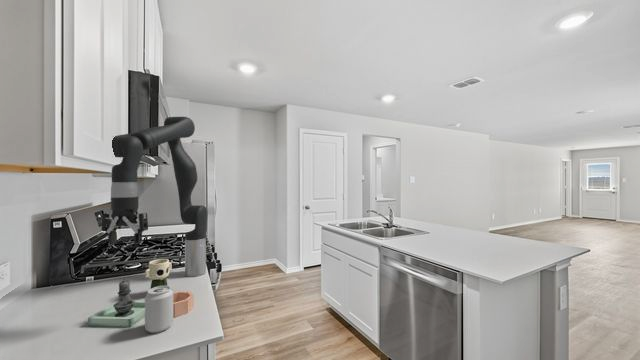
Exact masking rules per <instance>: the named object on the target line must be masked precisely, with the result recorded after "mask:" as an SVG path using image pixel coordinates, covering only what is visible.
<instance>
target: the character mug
mask: <svg viewBox="0 0 640 360" xmlns="http://www.w3.org/2000/svg"><path fill="white" fill-rule="evenodd" d="M172 267H173V266H172V262H170V260H169V259H168V258H159V259H154V260H150V261H149V262H148V268H147V269H145V272H144V274H145V275H144V277H145V278H146V279H149V280H151V283H150V287H149V290H150V289H152V288H154V287H158V286H168V281H167V278H168V276H169V275H170V271H171V270H172V269H173V268H172Z"/></svg>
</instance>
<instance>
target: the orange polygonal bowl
mask: <svg viewBox="0 0 640 360" xmlns="http://www.w3.org/2000/svg"><path fill="white" fill-rule="evenodd" d="M194 296H195V295H194V294H193V293H192V292H191V290H190V291H188V290H187V291H185V290H183V291H182V290H181V291H173V319H174V318H177V317H180V316H183V315H187V314H188V313H189V312H191V311H192V310H194V307H195V306H194Z"/></svg>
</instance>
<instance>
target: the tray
mask: <svg viewBox="0 0 640 360" xmlns="http://www.w3.org/2000/svg"><path fill="white" fill-rule="evenodd" d="M118 301H119V300H117V301H115V302H113V303H112V304H110V305H108V306H107V307H104V308H103V309H101V310H100V311H98V312H96V313H94V314H93V315H90V316H89V317H87V326H89V327H119V326H121V327H122V328H123V327H124V328H125V327H126V328H129V327H130V328H132V327H133V326H134V325H136V324H137V323H138V322H140V321H141V320H143V318H144V319H145V300H144V301H142V300H135V303H134V305H133V307H132V309H131V310H134V313H133V314H131V315H129V316H127V317H115V314H117V313H118V312H117V311H116V310H115V307H113V306H114V304H115V303H117V302H118Z"/></svg>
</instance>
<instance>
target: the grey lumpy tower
mask: <svg viewBox="0 0 640 360" xmlns="http://www.w3.org/2000/svg"><path fill="white" fill-rule="evenodd" d="M130 285H131V282H130V281H129V280H127V279H126V278H125V277H124V278H123V279H122V281H120V282H119V284H118V292H117V294H118V300H117V301H118V302H117V301H116V302H117V303H115V302H114V303H115V304H114V303H113V304H114V306H113V307H115V310H116V311H117V312H118V313H117V314H115V317H127V316H129V315H131V314H133V313H134V310H131V309H132V307H133V305H134V303H135V301H136V300H135V299H131V292H132V290H131V288H130V287H131V286H130Z"/></svg>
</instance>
